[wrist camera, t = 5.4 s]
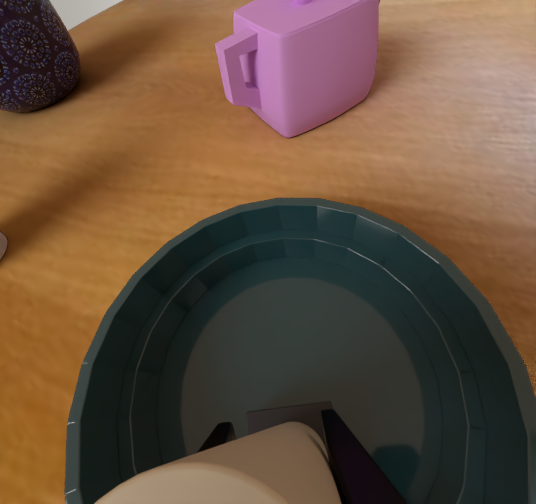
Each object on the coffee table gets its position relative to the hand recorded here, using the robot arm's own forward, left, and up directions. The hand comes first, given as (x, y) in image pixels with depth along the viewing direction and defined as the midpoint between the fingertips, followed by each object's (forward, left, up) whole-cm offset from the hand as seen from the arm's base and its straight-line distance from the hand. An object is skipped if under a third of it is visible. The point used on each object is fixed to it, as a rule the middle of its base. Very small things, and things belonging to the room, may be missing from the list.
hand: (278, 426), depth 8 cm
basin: (+2, +2, -8) cm, 8 cm away
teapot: (+26, +17, -8) cm, 32 cm away
